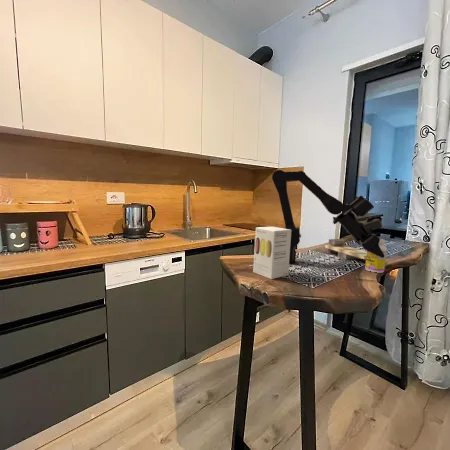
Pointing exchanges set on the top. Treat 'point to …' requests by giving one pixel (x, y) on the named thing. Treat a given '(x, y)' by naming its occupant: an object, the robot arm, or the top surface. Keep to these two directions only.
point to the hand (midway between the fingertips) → (380, 254)
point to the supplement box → (272, 251)
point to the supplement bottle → (376, 260)
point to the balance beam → (344, 250)
